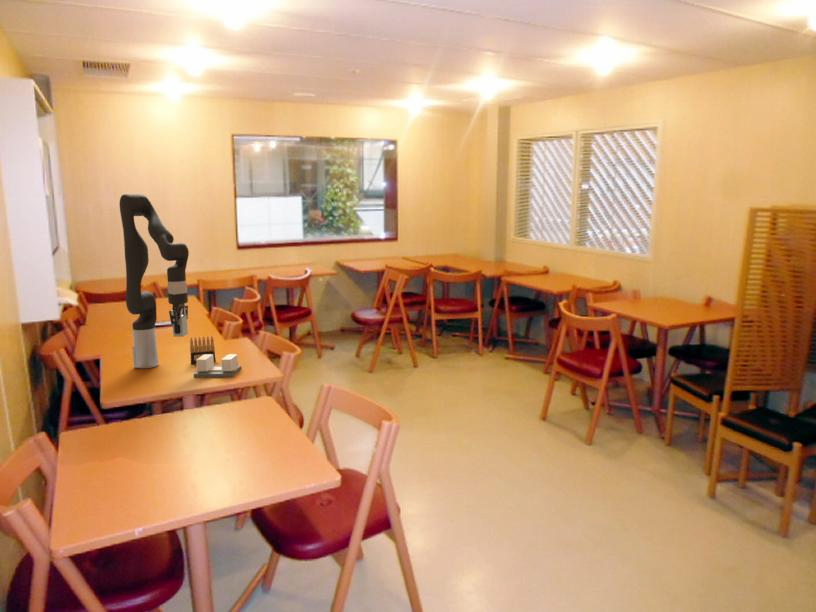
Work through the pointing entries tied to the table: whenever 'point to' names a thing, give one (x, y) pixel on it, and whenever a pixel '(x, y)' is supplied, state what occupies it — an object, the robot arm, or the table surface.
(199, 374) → the mounting plate
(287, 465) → the table surface
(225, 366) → the mounted modules
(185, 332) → the module block
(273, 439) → the table surface
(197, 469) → the table surface
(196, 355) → the ammunition clip
